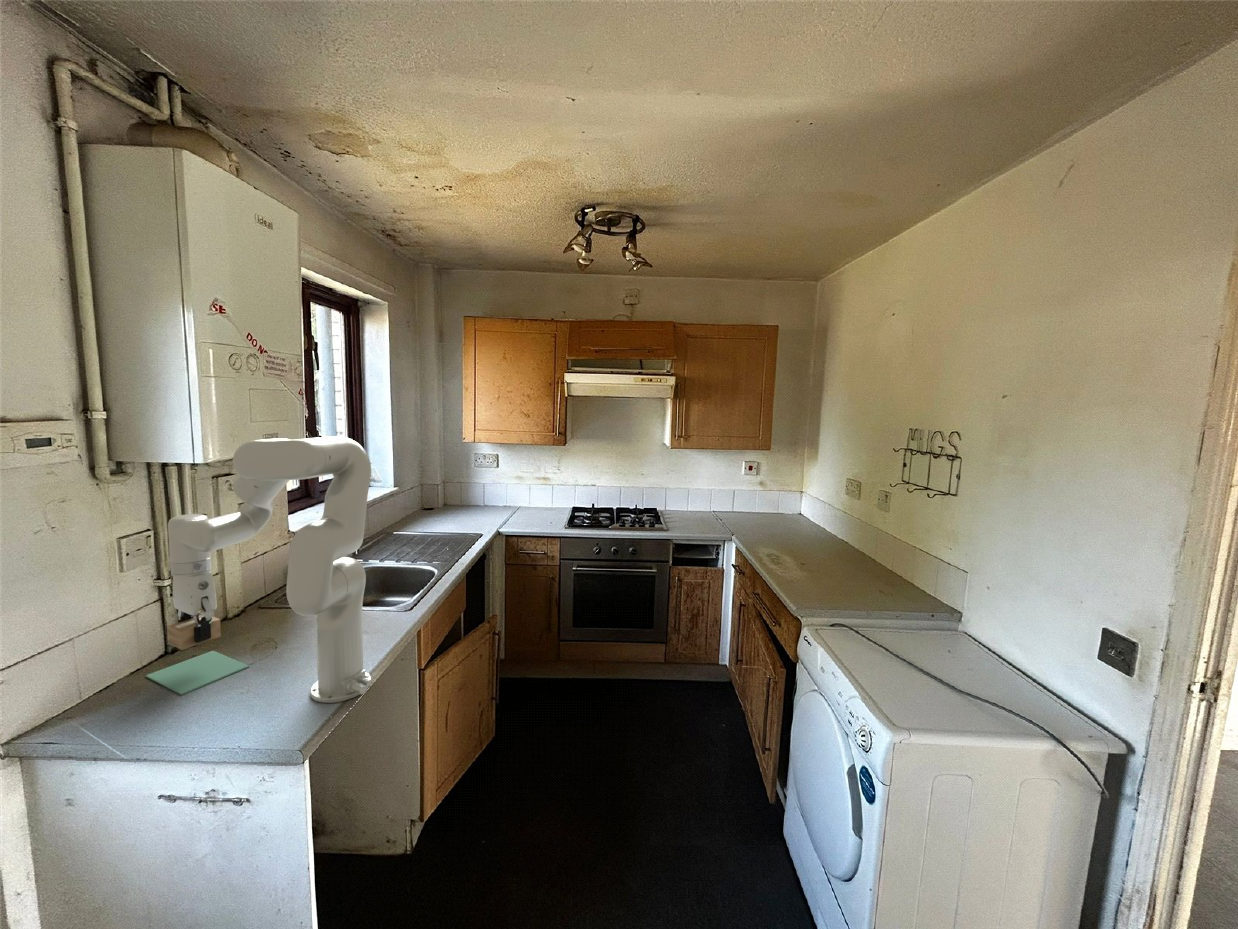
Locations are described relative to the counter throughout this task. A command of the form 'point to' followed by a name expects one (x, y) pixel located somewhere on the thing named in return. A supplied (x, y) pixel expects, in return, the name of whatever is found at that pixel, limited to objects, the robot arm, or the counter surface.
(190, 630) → the cardboard box
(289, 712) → the counter surface
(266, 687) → the counter surface
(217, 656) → the play mat
